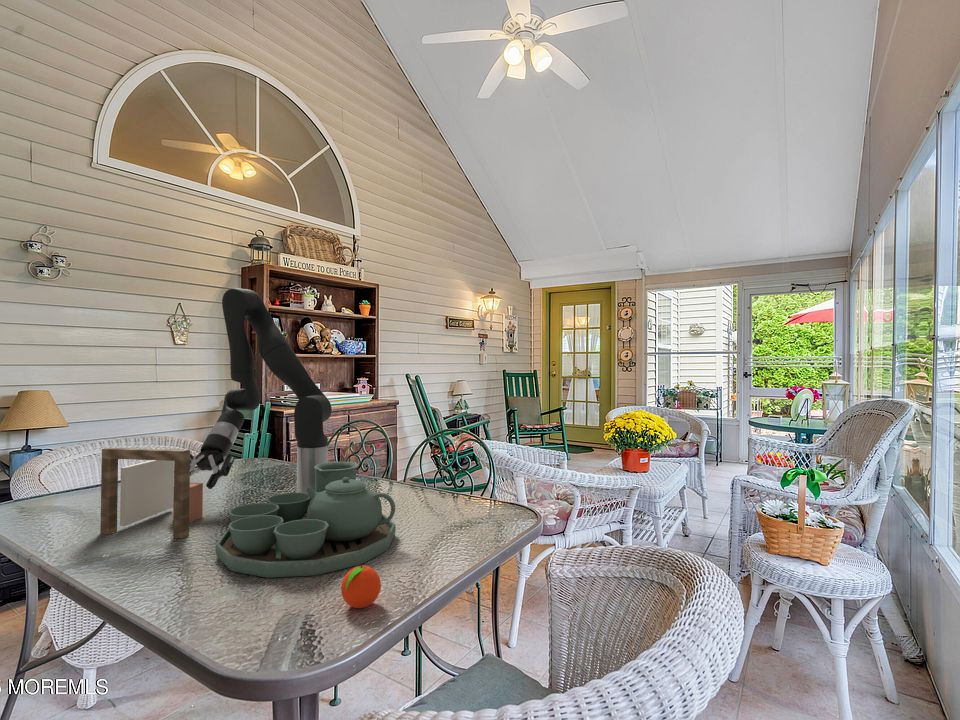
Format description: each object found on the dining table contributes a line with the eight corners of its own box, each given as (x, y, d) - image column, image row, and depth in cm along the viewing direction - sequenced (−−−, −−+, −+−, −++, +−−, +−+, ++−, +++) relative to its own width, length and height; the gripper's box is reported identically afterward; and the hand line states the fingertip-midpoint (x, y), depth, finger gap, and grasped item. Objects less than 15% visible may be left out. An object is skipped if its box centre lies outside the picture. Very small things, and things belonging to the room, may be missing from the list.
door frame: (188, 535, 125) (190, 449, 125) (182, 538, 123) (183, 451, 123) (108, 530, 128) (109, 447, 128) (100, 534, 125) (101, 448, 126)
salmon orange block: (202, 516, 140) (202, 483, 140) (190, 522, 135) (190, 487, 135) (185, 516, 141) (186, 482, 141) (173, 521, 136) (173, 486, 136)
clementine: (362, 622, 83) (362, 579, 83) (328, 614, 86) (328, 572, 86) (388, 601, 91) (388, 561, 91) (356, 594, 93) (356, 556, 93)
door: (165, 507, 146) (166, 455, 146) (173, 507, 146) (174, 456, 146) (115, 525, 129) (116, 467, 129) (124, 526, 128) (125, 467, 129)
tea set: (225, 529, 130) (226, 466, 130) (379, 513, 145) (379, 457, 145) (204, 594, 93) (205, 506, 93) (412, 564, 108) (413, 488, 108)
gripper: (192, 432, 149) (164, 479, 138) (237, 432, 148) (212, 480, 136) (204, 447, 155) (177, 493, 143) (247, 447, 153) (224, 494, 141)
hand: (194, 487), depth 140 cm, fingers open, 8 cm apart
